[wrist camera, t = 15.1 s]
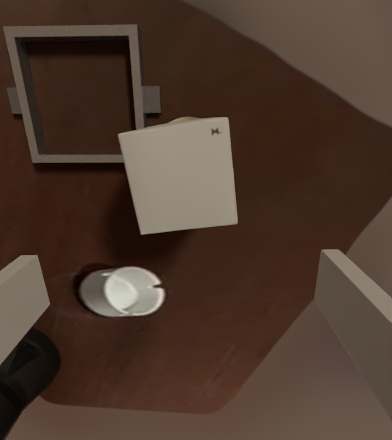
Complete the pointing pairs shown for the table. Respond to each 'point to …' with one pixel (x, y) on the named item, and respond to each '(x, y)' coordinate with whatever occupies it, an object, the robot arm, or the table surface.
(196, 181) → the supplement box
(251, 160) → the table surface
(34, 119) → the grey frame with tab
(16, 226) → the table surface
